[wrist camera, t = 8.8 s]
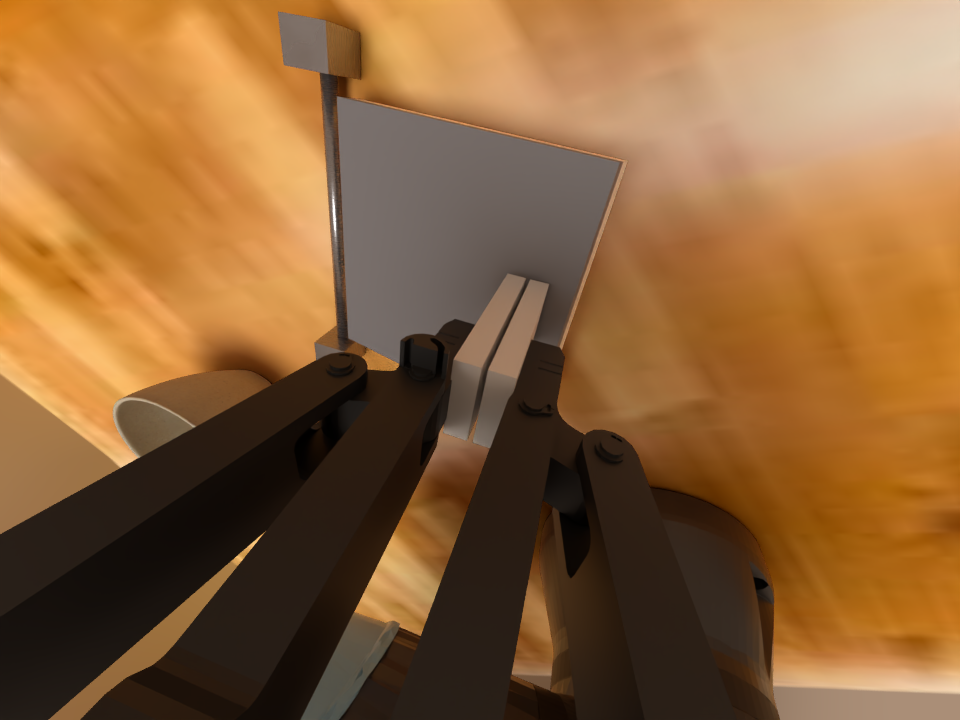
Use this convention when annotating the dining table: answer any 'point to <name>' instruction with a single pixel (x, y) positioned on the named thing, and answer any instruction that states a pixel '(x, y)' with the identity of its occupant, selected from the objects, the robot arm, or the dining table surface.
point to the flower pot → (180, 406)
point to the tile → (461, 221)
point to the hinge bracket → (327, 138)
